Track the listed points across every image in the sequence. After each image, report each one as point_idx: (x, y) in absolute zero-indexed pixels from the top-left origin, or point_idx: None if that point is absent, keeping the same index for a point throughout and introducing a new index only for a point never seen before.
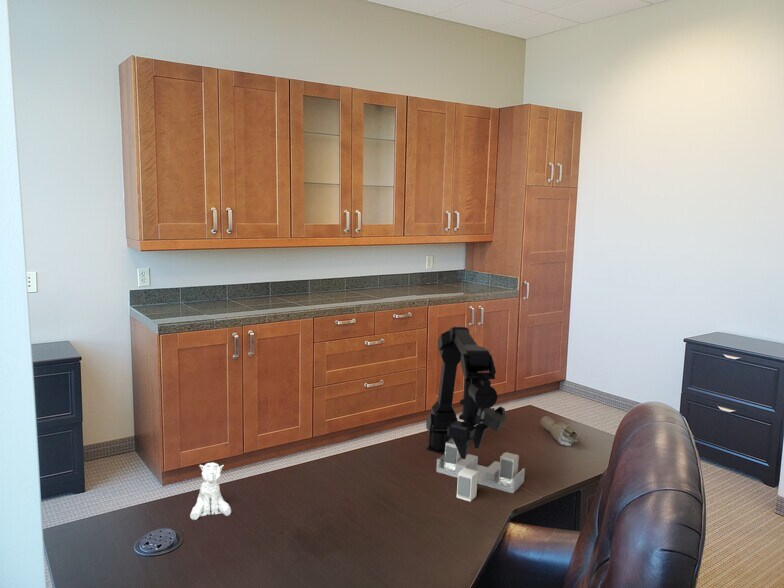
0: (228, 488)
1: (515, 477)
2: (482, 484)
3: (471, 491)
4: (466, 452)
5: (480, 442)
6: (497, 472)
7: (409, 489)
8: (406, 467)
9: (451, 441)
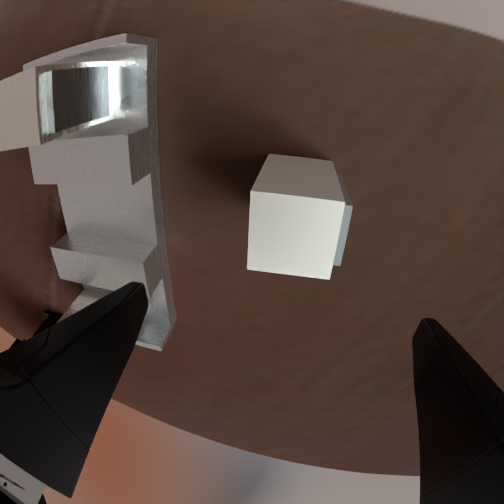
0: (415, 471)
1: (103, 41)
2: (159, 166)
3: (329, 172)
4: (462, 356)
5: (106, 306)
6: (92, 135)
7: (335, 348)
8: (208, 377)
9: None
